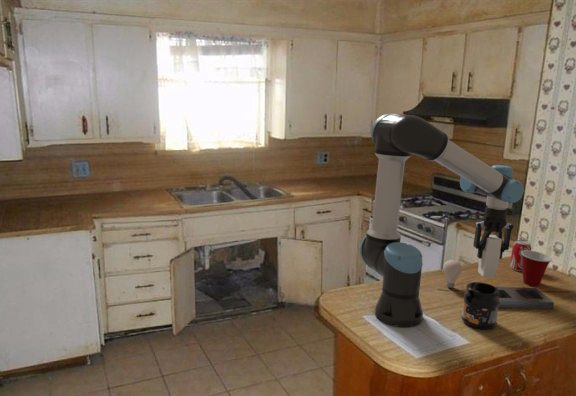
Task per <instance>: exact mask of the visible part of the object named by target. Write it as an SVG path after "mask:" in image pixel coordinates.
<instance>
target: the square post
mask: <svg viewBox="0 0 576 396" xmlns="http://www.w3.org/2000/svg"><path fill="white" fill-rule="evenodd" d="M502 239H503V238H502ZM502 239H501V238H498V237H497V236H496V234H495V235H493V234H490V235H489V238H487V242H486V245H485V247H484V251H485V257H484V264H483V267H480V266H479V265H478V269H477V273H479V275H480V276H481V277H482V278H497V274H498V269H499V266H498V263H499V264H500V259H499V256H500V249H501V243H502Z"/></svg>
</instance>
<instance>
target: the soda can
mask: <svg viewBox="0 0 576 396" xmlns="http://www.w3.org/2000/svg"><path fill="white" fill-rule="evenodd" d="M531 246H532V245H531V242H530V241H527V240H522V239H516V240H515V241H514V243H513V244H512V248H511V249H512V250H511V256H510V263H509V264H510V265H509V268H511V269H512V270H514V271H517V272H523V270H522V254H521V251H524V250H530V251H532V247H531Z"/></svg>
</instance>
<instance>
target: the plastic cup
mask: <svg viewBox="0 0 576 396" xmlns="http://www.w3.org/2000/svg"><path fill="white" fill-rule="evenodd" d="M521 254H522V270H523V271H522V281H523V283H524V284H525V285H527V286H530V287H540V285H541V283H542V281H543V278H544V275H545V273H546V271H547V267H548V265H549V264H550V263H551V262H552V259H553V257H552V256H550V255H548V254H546V253H542V252H539V251H535V250H531V251H530V250H524V251H521Z"/></svg>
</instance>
